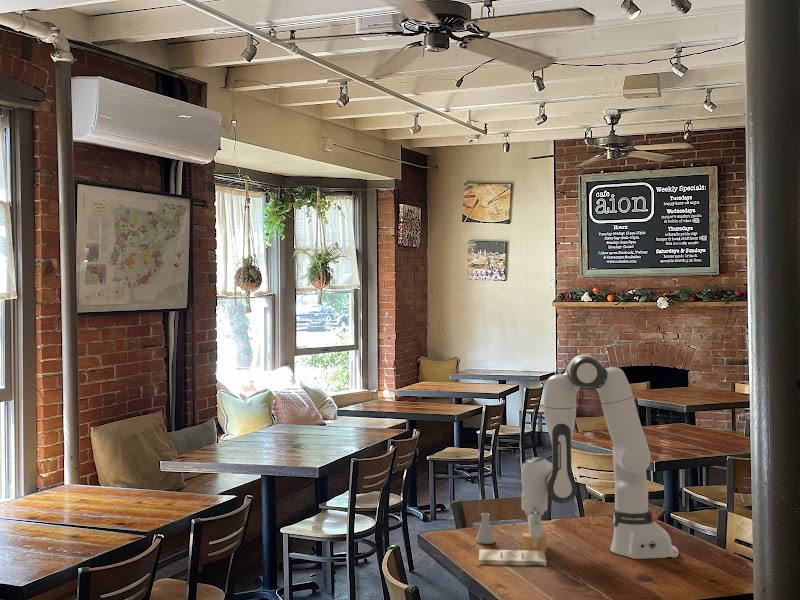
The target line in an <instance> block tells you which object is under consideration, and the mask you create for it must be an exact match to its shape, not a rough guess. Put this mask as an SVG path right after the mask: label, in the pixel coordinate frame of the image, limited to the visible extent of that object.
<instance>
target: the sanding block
mask: <svg viewBox="0 0 800 600" xmlns="http://www.w3.org/2000/svg"><path fill="white" fill-rule="evenodd" d="M522 550H531V551H545V552H547V533H542V532H541V538H538V546H537V547H533V546H532V538H531V537H530V532H523V533H522Z"/></svg>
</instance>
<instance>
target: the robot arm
mask: <svg viewBox="0 0 800 600" xmlns="http://www.w3.org/2000/svg"><path fill="white" fill-rule="evenodd" d="M544 388H545V389H544V394H543V395H544V396H543V415H544V422H545V427H546V429H547V432H548V435H549V437H550V442H551V453H552V455H551V456H552V457H551V458H552V462H550V461H548V460H547V459H546V458H545V457H542V456H534V457H529V458H527V459H526V460H525V461H524V462H523V464H522V468H521V486H522V491H521V510H522V511H524V513H525V514H524V515H526V516H527V524H528V531H529V533H530V537H531V538H532V546H533V547H537V546H538V538H541V533H542V516H543V515H544V513H545V512H547V510H548V497H549V499H551V501H553V502H555V503H557V504H562V505H563V504H568V503H570V502H572V501H573V500H574V499H576V496H577V494H578V485H577V481H576V480H575V478H574V476H573V469H572V441H573V436H574V435H573V434H574V430H575V426H576V417H577V416H576V415H577V394H578V391H579V390H580V389H581V388H584V389H595V390H596V391H597V393H598V396H599V399H600V404H601V409H602V411H603V417H604V420H605V423H606V427H607V430H608V433H609V437H610V439H611V442H612V461H613V465H612V466H613V478H614V509H613V514H612V515H613V517H612V518H613V519H612V521H613V526H614V528H613V536H612V537H613V538H612V541H611V546H610V547H609V549H610V551H611V552H613V554H617V555H619V556H620V555H621V556H623V557H627V558H630V559H635V560H636V559H638V560H639V559H643V560H644V559H663V558H664V559H665V558H666V559H667V557H672V558H677V557H679V550H678V548H677V547H676V546H674V545H672V539H671V537H670V536H671V535H670V534H669V532H668V531H666V530H665V529H664V528H663V527H662V526H660V525H659V524H657V522H656V521H657V520H658V516H657V514H655V513H654V512H653V511H651V510H649V485H648V476H647V469H648V468H649V467H650V465H651V461H652V459H651V458H652V456H651V451H650V449H649V448H650V447H649V445H648V442H647V438H646V435H645V432H644V430H643V426H642V424H641V420H640V417H639V414H638V411H637V410H638V409H637V407H636V405H637V404H636V402H635V399H634V395H633V391H632V388H631V386H630V383H629V381H628V378H627V375H626V374H625V372H624V371H623V370H622V368H619V367H617V366H616V367H615V366H613V367H612V366H611V367H607V368H605V367H604V366H603V365H602V364H601V363H600V362H599V361H598V360H597V359H596V358H595V357H594V356H592V355H591V354H587V353H579V354H575V355H574V356H573V357H571V358H570V359H569V361H568V362H567V364H566V366H565V368H564V369H563V370H562V373H560V374H559V373H557V374H553V375H551V376H549V377H548V379H547V380H546V382H545V387H544Z"/></svg>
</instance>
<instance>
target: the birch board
mask: <svg viewBox="0 0 800 600" xmlns="http://www.w3.org/2000/svg"><path fill="white" fill-rule="evenodd" d="M478 565H485V566H488V565H489V566H526V565H544V566H543V567H545V566H547V565H548V564H547V558H546V551H530V550H523V549H522V550H521V549H518V550H517V549H485V548H484V549H479V551H478Z"/></svg>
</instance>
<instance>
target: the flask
mask: <svg viewBox="0 0 800 600" xmlns="http://www.w3.org/2000/svg"><path fill="white" fill-rule="evenodd" d="M480 516H481V522H480V527H479V529H478V532H477V535H476V537H475V538H476V539H475V542H476V543H477V544H483V545H489V544H494V543H496V538H495V536H494V534H493V531H492V530H493V529H492V527H491V523H490V516H491V513H488V512H482V513H481V514H480Z"/></svg>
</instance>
